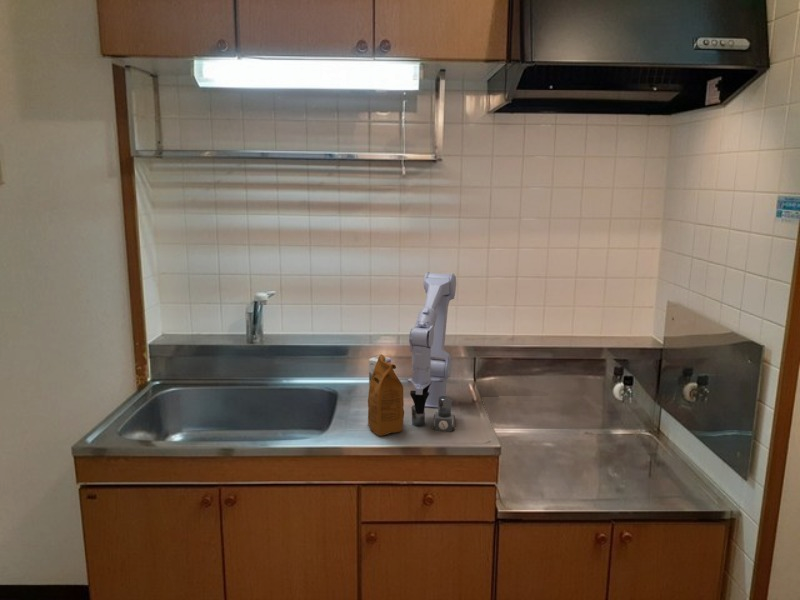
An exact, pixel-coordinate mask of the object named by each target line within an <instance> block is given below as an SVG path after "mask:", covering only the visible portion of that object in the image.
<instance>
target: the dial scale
mask: <svg viewBox="0 0 800 600" xmlns="http://www.w3.org/2000/svg"><path fill="white" fill-rule="evenodd" d="M455 425H456V415H455V412H451V416H450V417H446V418H444V417H440V416H438V411H435V414H434V416H433V421H432V430H434V432H444V433H447V432H448V433H452V431H455V427H456V426H455Z"/></svg>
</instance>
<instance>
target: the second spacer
mask: <svg viewBox="0 0 800 600" xmlns="http://www.w3.org/2000/svg"><path fill="white" fill-rule="evenodd" d="M425 408H426V407H425ZM425 408H424V413H423V414H416V410H415V405H411V409H410V410H411V423H412V424H411V426H414V427H423V426H425V424H426V414H425V413H426V412H425Z"/></svg>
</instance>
